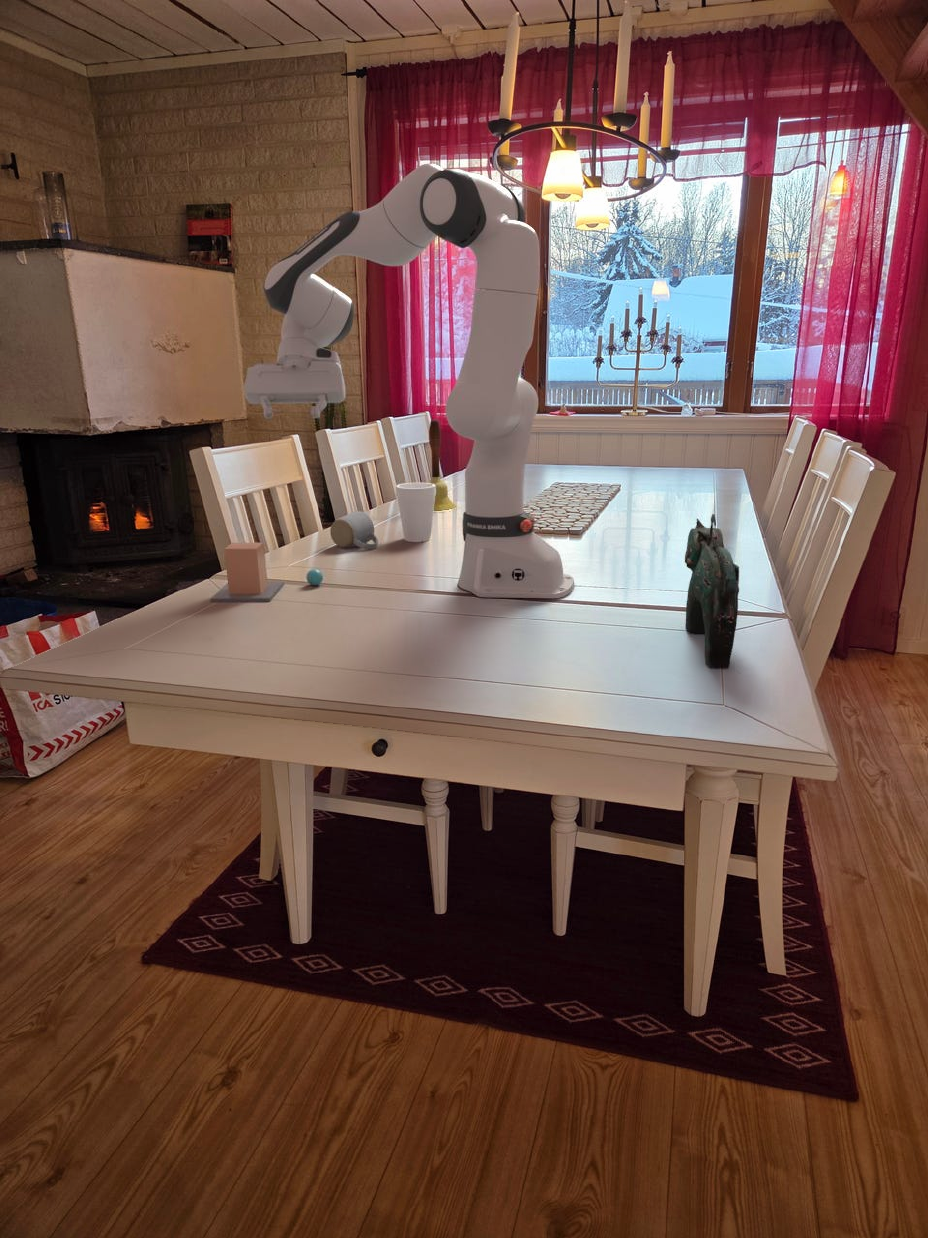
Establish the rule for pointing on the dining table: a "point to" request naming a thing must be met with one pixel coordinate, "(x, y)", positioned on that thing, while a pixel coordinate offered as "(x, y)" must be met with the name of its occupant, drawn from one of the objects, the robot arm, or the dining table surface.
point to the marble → (314, 577)
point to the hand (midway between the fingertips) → (291, 416)
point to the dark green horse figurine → (712, 593)
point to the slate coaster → (264, 596)
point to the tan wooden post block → (246, 568)
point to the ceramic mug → (354, 531)
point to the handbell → (441, 488)
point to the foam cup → (416, 510)
